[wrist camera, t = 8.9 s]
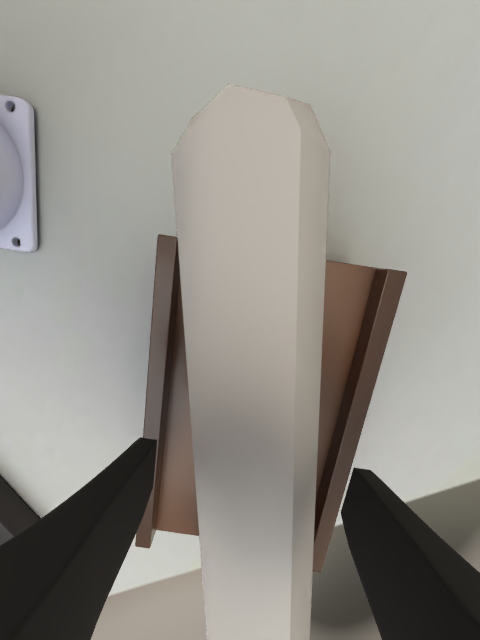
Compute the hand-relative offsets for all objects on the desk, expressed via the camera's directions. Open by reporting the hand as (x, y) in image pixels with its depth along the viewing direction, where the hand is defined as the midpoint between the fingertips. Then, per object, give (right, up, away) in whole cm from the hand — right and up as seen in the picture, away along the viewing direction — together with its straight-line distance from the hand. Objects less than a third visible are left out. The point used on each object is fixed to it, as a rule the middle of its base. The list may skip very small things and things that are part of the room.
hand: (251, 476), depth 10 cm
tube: (0, +1, +4) cm, 4 cm away
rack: (0, +2, +8) cm, 9 cm away
